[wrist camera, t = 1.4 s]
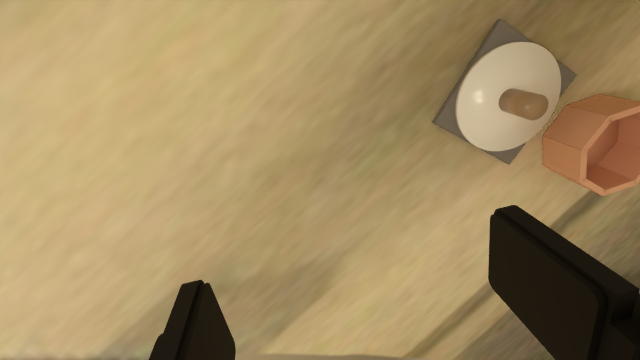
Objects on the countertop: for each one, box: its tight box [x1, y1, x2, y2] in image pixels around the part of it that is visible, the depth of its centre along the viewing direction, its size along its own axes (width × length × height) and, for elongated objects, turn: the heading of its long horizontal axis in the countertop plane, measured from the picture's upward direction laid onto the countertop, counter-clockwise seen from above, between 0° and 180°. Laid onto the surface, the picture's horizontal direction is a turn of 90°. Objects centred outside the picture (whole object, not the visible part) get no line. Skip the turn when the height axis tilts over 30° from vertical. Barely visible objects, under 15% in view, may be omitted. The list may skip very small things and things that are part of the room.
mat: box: [433, 20, 577, 165], centre depth 40 cm, size 13×13×1 cm
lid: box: [455, 42, 561, 151], centre depth 38 cm, size 13×13×5 cm
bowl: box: [543, 94, 640, 196], centre depth 42 cm, size 11×11×6 cm
